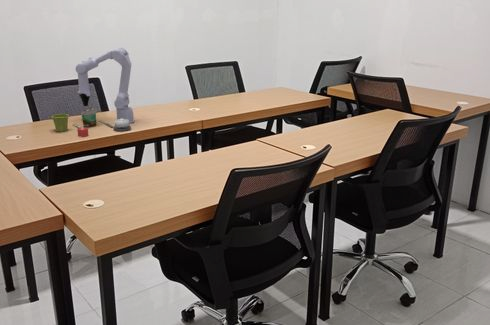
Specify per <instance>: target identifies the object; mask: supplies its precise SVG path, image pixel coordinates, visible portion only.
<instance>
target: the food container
mask: <svg viewBox="0 0 490 325" xmlns="http://www.w3.org/2000/svg"><path fill="white" fill-rule="evenodd" d="M97 113H98V111H97V108H96V107H95V106H94V107H93V106H90V108H88V109H85V110H84V111H83V110H81V111H80V114H81V117H82V118H81V119H82V126H83V127H84V128H93V127H95V126H97Z"/></svg>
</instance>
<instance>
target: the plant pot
mask: <svg viewBox="0 0 490 325" xmlns="http://www.w3.org/2000/svg"><path fill="white" fill-rule="evenodd" d="M69 116H70V115H69V114H68V113H57V114H53V115H51V116H50V117H51V118H52V121H53V124H54V128H55V130H56V132H60V133H61V132H67V131H68V126H69V125H68V123H69Z"/></svg>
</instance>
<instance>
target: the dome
mask: <svg viewBox="0 0 490 325" xmlns="http://www.w3.org/2000/svg"><path fill="white" fill-rule="evenodd" d="M127 126H130V123H129V120H128V119H117V118H116V119H115V120H114V127H127Z"/></svg>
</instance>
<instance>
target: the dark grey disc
mask: <svg viewBox="0 0 490 325" xmlns="http://www.w3.org/2000/svg"><path fill="white" fill-rule="evenodd" d="M112 130H113V132H117V133H123V132H128V131H131V130H132V126H131V125H129V126H127V127H115V126H114V127H113V128H112Z"/></svg>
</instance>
